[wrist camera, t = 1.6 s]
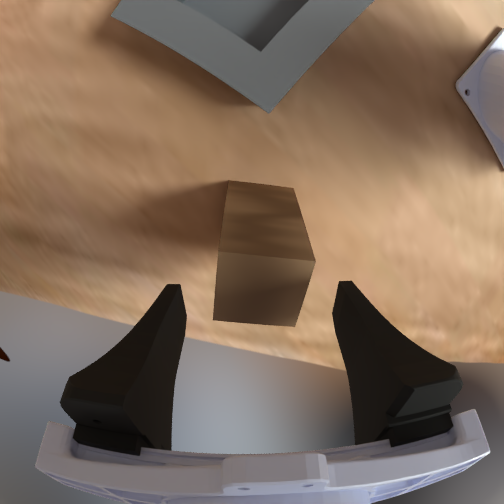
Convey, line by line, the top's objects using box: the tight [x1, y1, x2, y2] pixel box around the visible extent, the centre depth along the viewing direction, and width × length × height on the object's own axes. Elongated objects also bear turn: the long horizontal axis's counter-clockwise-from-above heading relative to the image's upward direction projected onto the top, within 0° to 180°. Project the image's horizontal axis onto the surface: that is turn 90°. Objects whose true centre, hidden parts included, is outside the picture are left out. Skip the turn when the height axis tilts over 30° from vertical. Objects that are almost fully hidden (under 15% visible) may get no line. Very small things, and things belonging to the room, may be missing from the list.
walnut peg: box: [213, 180, 316, 327], centre depth 18 cm, size 4×4×8 cm
